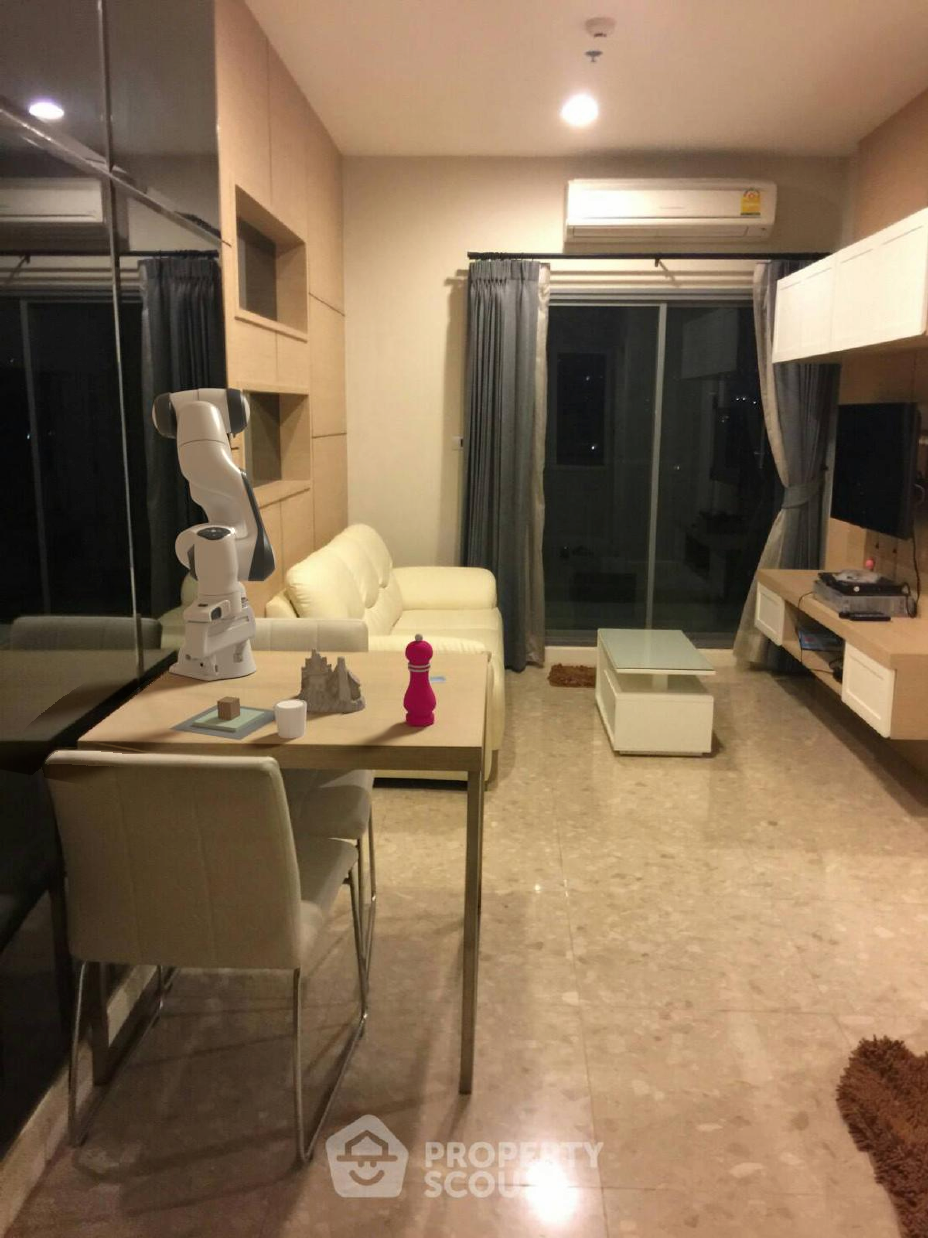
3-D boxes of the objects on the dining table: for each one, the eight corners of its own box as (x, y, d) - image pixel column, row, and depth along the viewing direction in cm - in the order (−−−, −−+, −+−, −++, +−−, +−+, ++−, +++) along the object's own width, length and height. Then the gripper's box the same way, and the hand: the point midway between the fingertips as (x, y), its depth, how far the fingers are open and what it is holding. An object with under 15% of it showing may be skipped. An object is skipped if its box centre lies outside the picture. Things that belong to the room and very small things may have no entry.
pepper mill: (410, 729, 197) (408, 639, 193) (399, 719, 204) (397, 631, 199) (441, 724, 200) (440, 635, 195) (429, 714, 207) (428, 628, 202)
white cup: (277, 730, 198) (275, 699, 196) (309, 728, 198) (308, 698, 196) (273, 741, 191) (271, 709, 189) (306, 740, 191) (305, 708, 190)
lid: (193, 725, 199) (191, 704, 198) (223, 709, 209) (222, 689, 208) (236, 731, 195) (234, 710, 194) (265, 715, 205) (264, 694, 204)
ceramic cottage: (363, 713, 207) (358, 648, 204) (290, 716, 207) (285, 651, 205) (371, 695, 222) (367, 634, 220) (303, 698, 223) (298, 637, 220)
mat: (169, 730, 197) (169, 728, 197) (220, 704, 214) (220, 702, 214) (240, 741, 191) (240, 739, 191) (287, 714, 207) (287, 712, 207)
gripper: (236, 594, 206) (242, 654, 210) (177, 614, 188) (184, 679, 191) (260, 595, 204) (265, 656, 207) (203, 616, 186) (209, 681, 189)
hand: (226, 667), depth 199 cm, fingers open, 8 cm apart
